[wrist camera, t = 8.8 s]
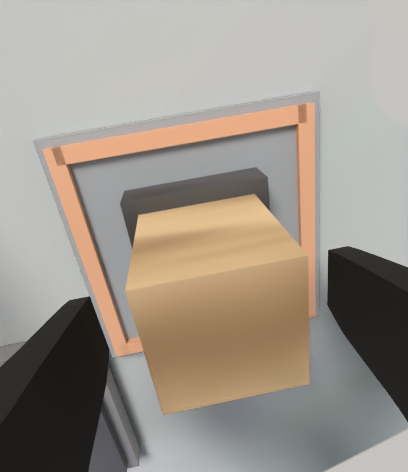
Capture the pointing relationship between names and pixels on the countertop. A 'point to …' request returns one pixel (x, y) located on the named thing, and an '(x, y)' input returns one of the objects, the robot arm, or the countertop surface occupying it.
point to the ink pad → (105, 428)
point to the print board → (176, 169)
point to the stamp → (216, 290)
